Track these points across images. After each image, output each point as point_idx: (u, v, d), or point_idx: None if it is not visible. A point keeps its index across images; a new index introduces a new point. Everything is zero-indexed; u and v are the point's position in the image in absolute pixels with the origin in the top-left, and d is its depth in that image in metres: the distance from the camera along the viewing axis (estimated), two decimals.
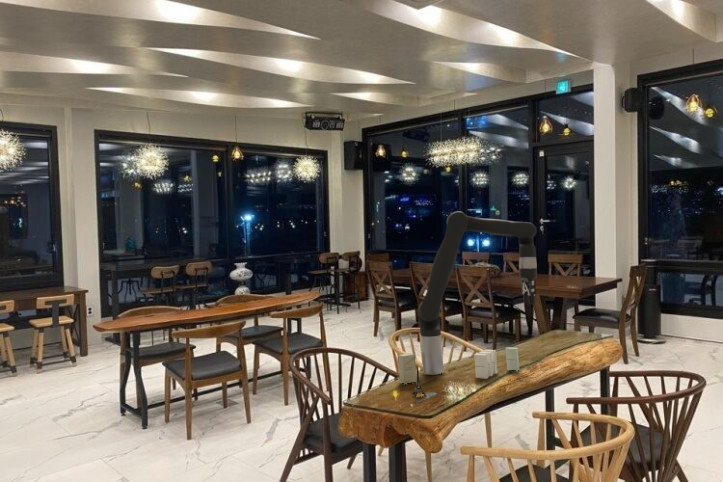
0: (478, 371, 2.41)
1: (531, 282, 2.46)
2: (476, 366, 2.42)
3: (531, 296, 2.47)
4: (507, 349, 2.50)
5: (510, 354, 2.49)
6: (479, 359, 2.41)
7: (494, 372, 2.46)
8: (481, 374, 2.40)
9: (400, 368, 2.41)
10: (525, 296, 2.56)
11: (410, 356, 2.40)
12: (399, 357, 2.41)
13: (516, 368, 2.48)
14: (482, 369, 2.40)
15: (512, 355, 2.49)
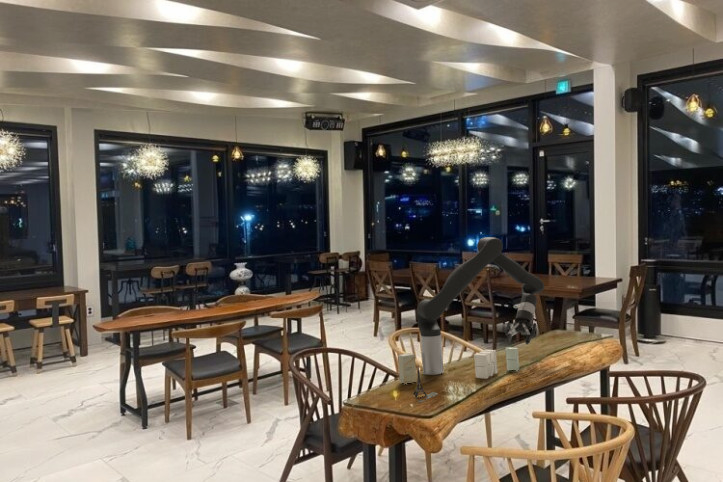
0: (478, 371, 2.41)
1: (536, 325, 2.56)
2: (476, 366, 2.42)
3: (530, 336, 2.54)
4: (507, 349, 2.50)
5: (510, 354, 2.49)
6: (479, 359, 2.41)
7: (494, 372, 2.46)
8: (481, 374, 2.40)
9: (400, 368, 2.41)
10: (510, 336, 2.60)
11: (410, 356, 2.40)
12: (399, 357, 2.41)
13: (516, 368, 2.48)
14: (482, 369, 2.40)
15: (512, 355, 2.49)
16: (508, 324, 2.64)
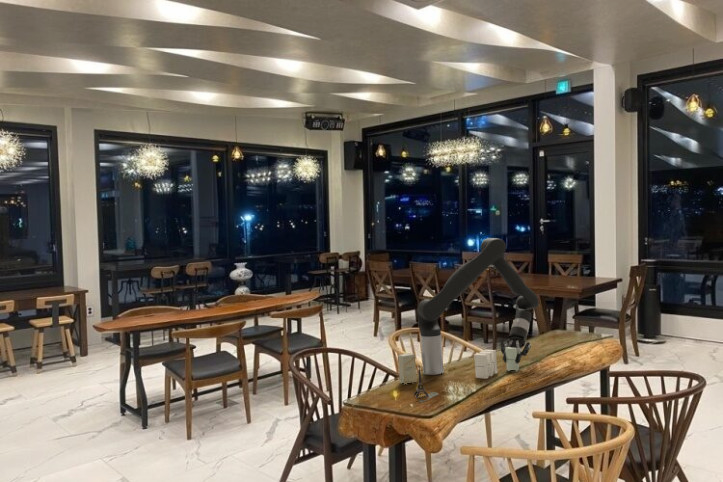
0: (478, 371, 2.41)
1: (529, 344, 2.49)
2: (476, 366, 2.42)
3: (520, 355, 2.48)
4: (507, 349, 2.50)
5: (510, 353, 2.49)
6: (479, 359, 2.41)
7: (494, 372, 2.46)
8: (481, 374, 2.40)
9: (400, 368, 2.41)
10: None
11: (410, 356, 2.40)
12: (399, 357, 2.41)
13: (516, 368, 2.48)
14: (482, 369, 2.40)
15: (512, 355, 2.49)
16: (502, 342, 2.56)
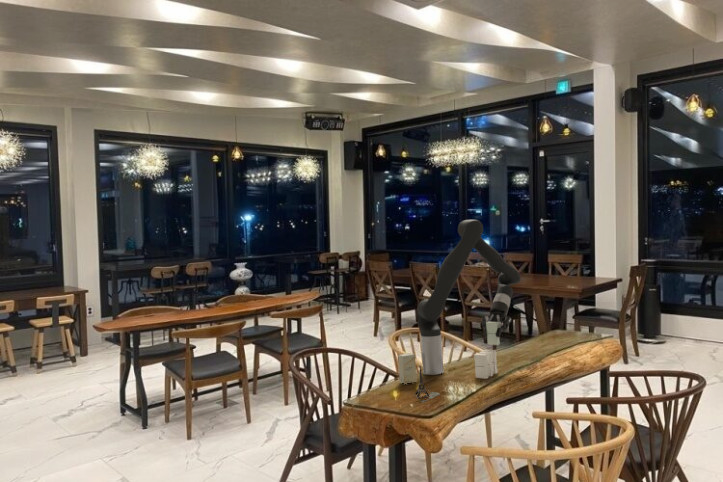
0: (478, 371, 2.41)
1: (509, 318, 2.51)
2: (476, 366, 2.42)
3: (500, 329, 2.50)
4: (488, 323, 2.52)
5: (491, 327, 2.51)
6: (479, 359, 2.41)
7: (494, 372, 2.46)
8: (481, 374, 2.40)
9: (400, 368, 2.41)
10: None
11: (410, 356, 2.40)
12: (399, 357, 2.41)
13: (496, 342, 2.50)
14: (482, 369, 2.40)
15: (492, 329, 2.51)
16: (483, 317, 2.58)
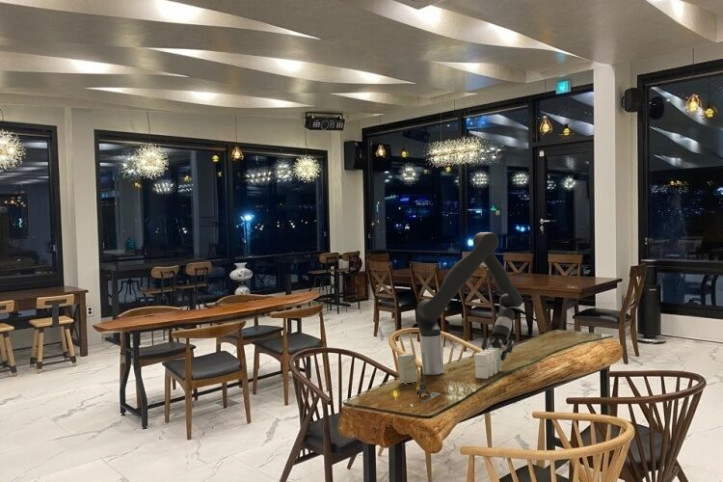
0: (478, 371, 2.41)
1: (512, 340, 2.52)
2: (476, 366, 2.42)
3: (505, 352, 2.49)
4: (489, 349, 2.52)
5: None
6: (479, 359, 2.41)
7: (494, 372, 2.46)
8: (481, 374, 2.40)
9: (400, 368, 2.41)
10: None
11: (410, 356, 2.40)
12: (399, 357, 2.41)
13: (498, 368, 2.50)
14: (482, 369, 2.40)
15: None
16: (485, 339, 2.59)
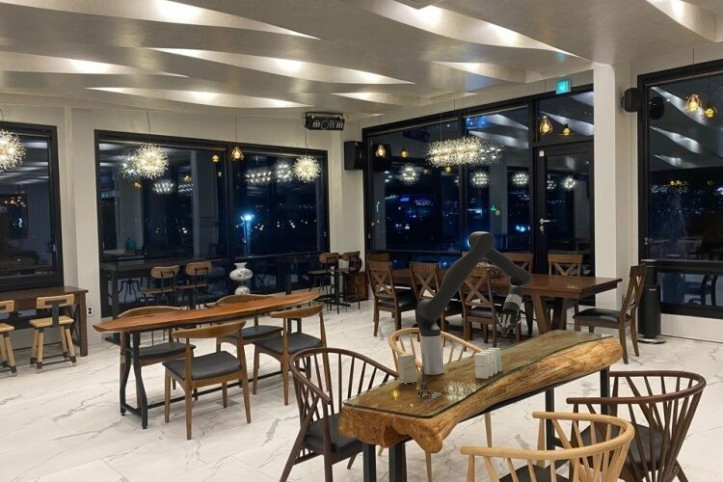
0: (478, 371, 2.41)
1: (519, 320, 2.61)
2: (476, 366, 2.42)
3: (507, 329, 2.61)
4: (489, 349, 2.52)
5: None
6: (479, 359, 2.41)
7: (494, 372, 2.46)
8: (481, 374, 2.40)
9: (400, 368, 2.41)
10: None
11: (410, 356, 2.40)
12: (399, 357, 2.41)
13: (498, 368, 2.50)
14: (482, 369, 2.40)
15: None
16: (496, 319, 2.68)
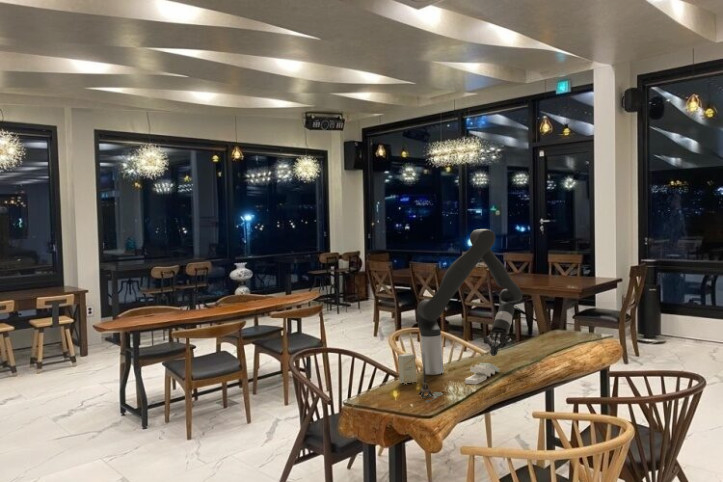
0: None
1: (509, 339, 2.51)
2: None
3: (497, 348, 2.52)
4: None
5: None
6: None
7: None
8: None
9: (400, 368, 2.41)
10: None
11: (410, 356, 2.40)
12: (399, 357, 2.41)
13: (496, 371, 2.48)
14: None
15: None
16: (486, 337, 2.58)
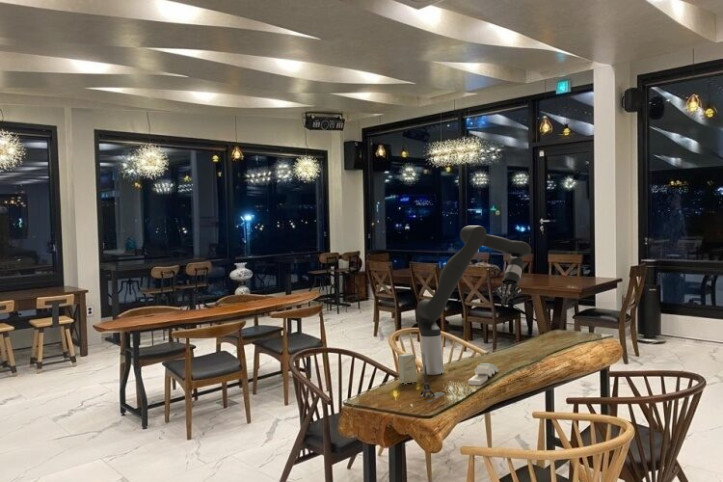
0: None
1: (519, 289, 2.63)
2: None
3: (508, 298, 2.64)
4: None
5: None
6: None
7: None
8: None
9: (400, 368, 2.41)
10: None
11: (410, 356, 2.40)
12: (399, 357, 2.41)
13: (495, 371, 2.48)
14: None
15: None
16: (497, 289, 2.70)
